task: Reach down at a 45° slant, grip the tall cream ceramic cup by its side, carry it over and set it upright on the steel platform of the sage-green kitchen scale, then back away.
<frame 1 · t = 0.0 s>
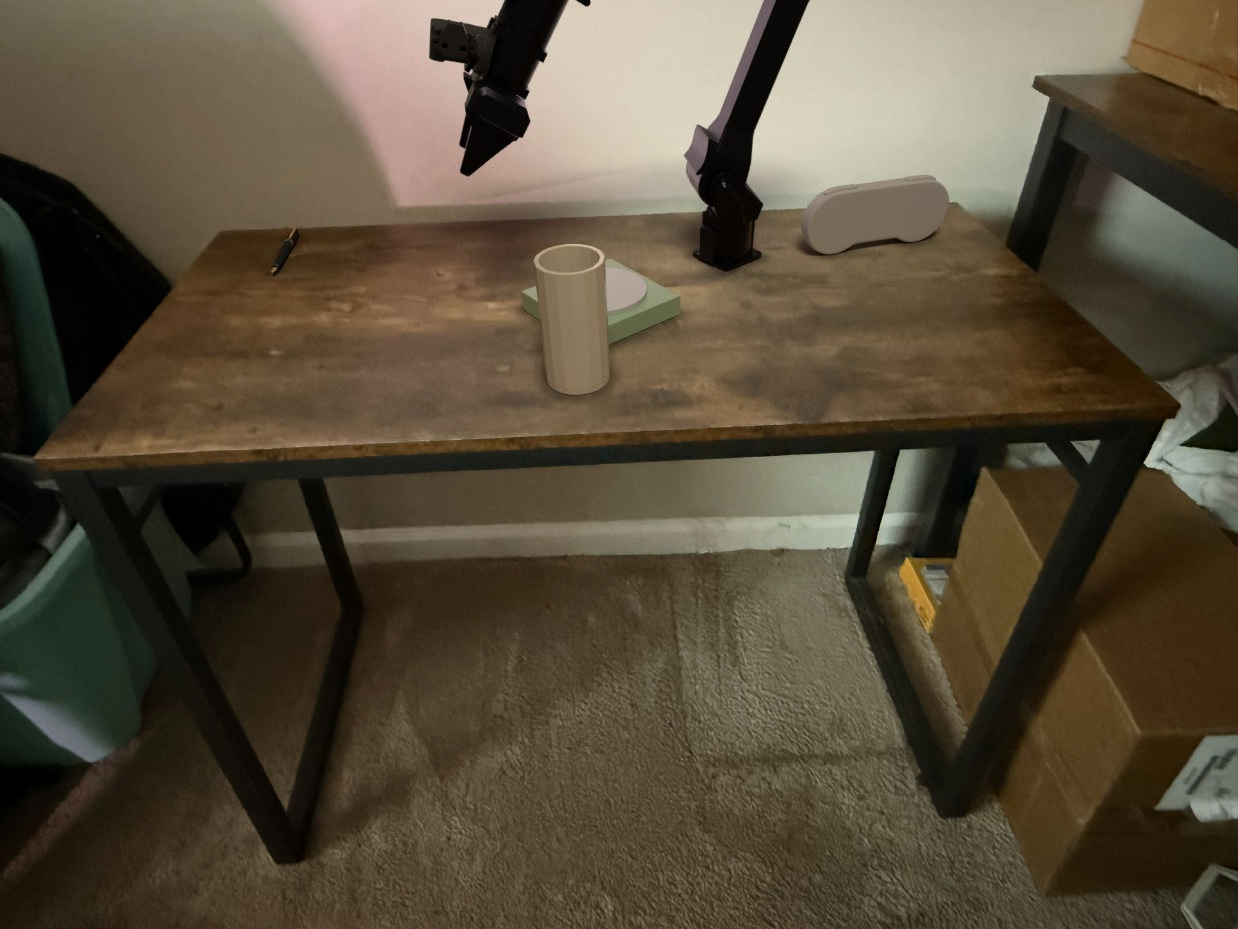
hand: (463, 160, 91), 15 cm above the table, tool tilted 35°, fingers open, 9 cm apart
fountain pen: (286, 256, 109), on the table
game controller: (870, 246, 105), on the table
scale: (600, 312, 93), on the table
cup: (578, 377, 83), on the table
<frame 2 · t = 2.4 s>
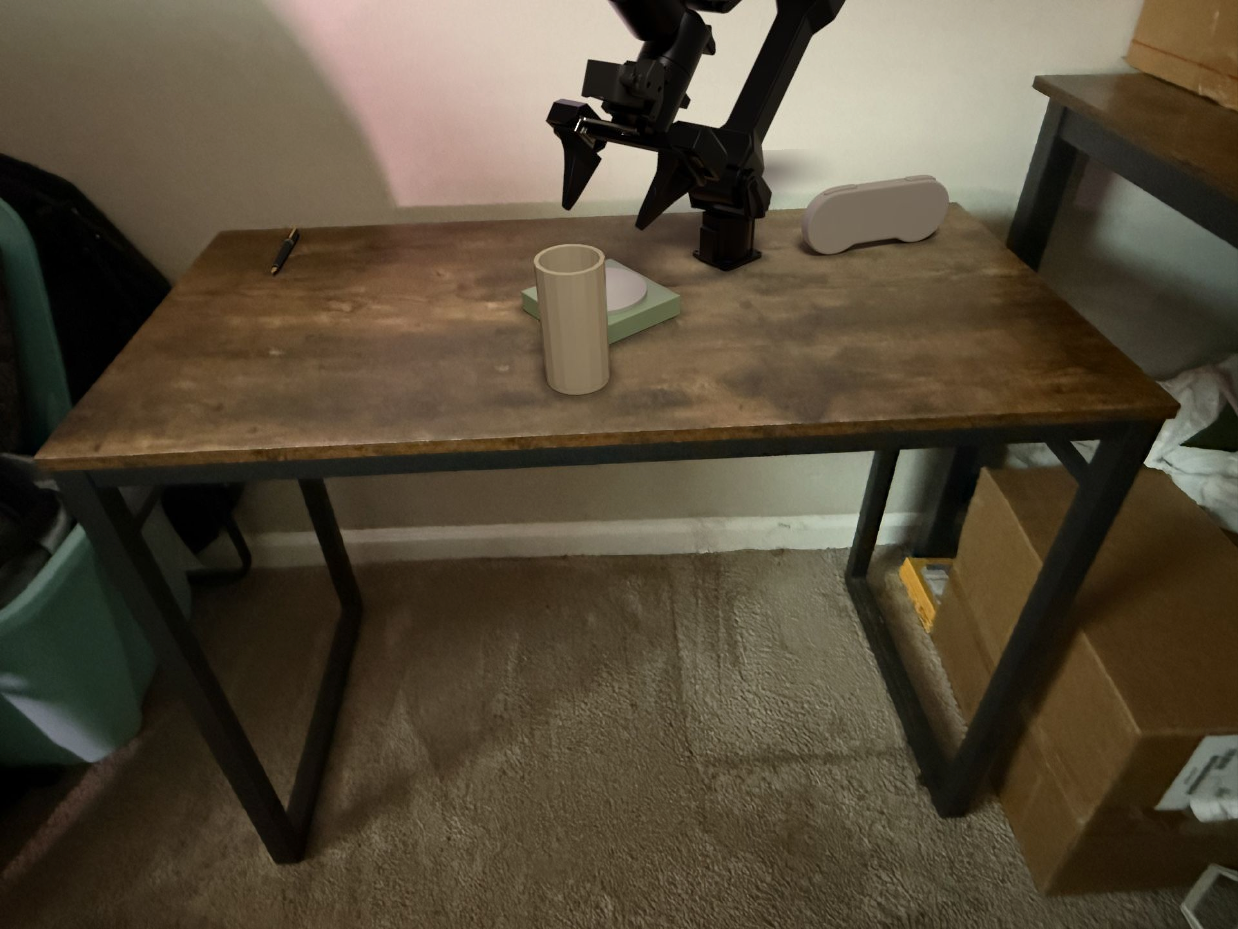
hand: (600, 218, 80), 14 cm above the table, tool tilted 45°, fingers open, 9 cm apart
nothing on the table moved.
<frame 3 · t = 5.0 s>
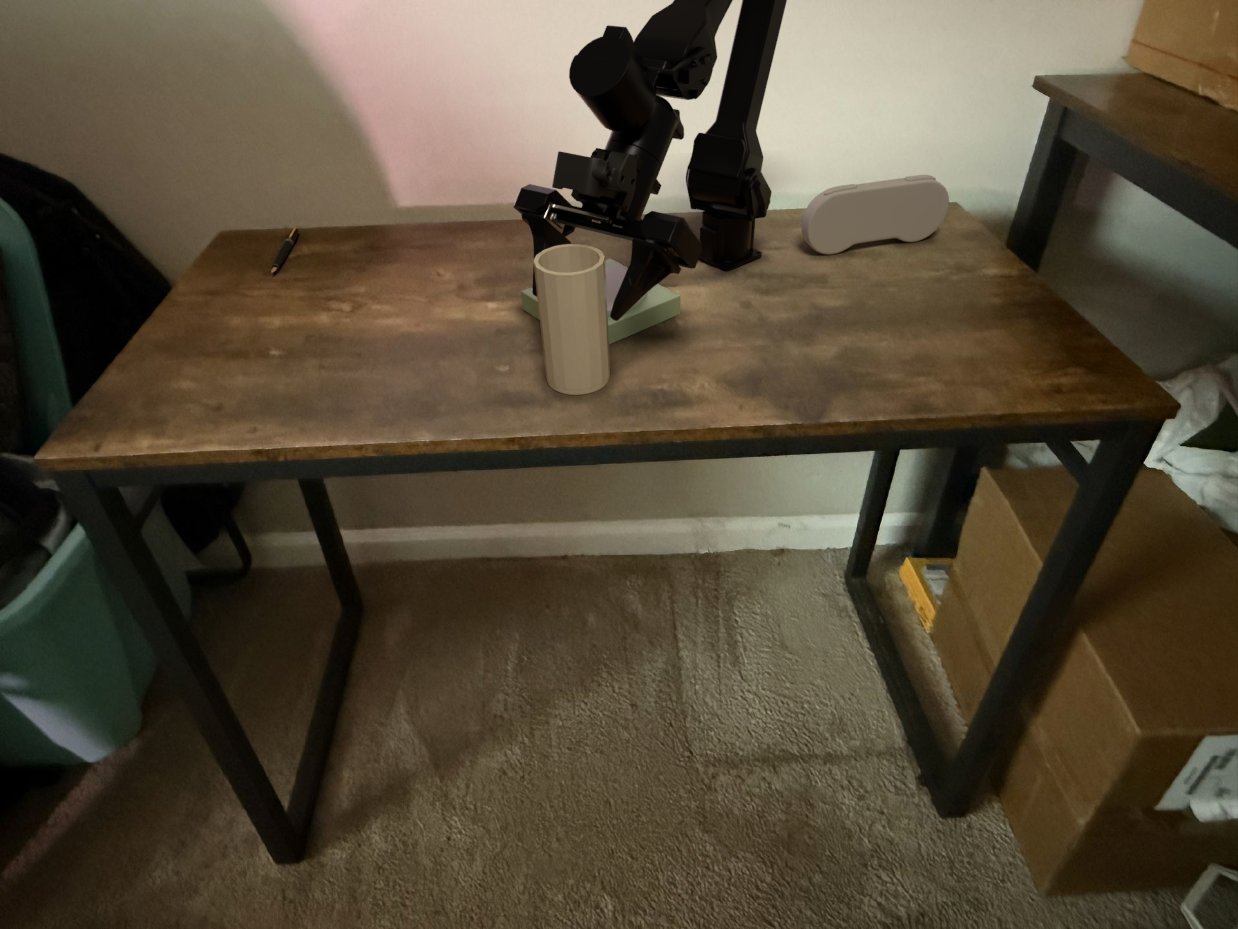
hand: (573, 307, 78), 8 cm above the table, tool tilted 45°, fingers open, 9 cm apart
nothing on the table moved.
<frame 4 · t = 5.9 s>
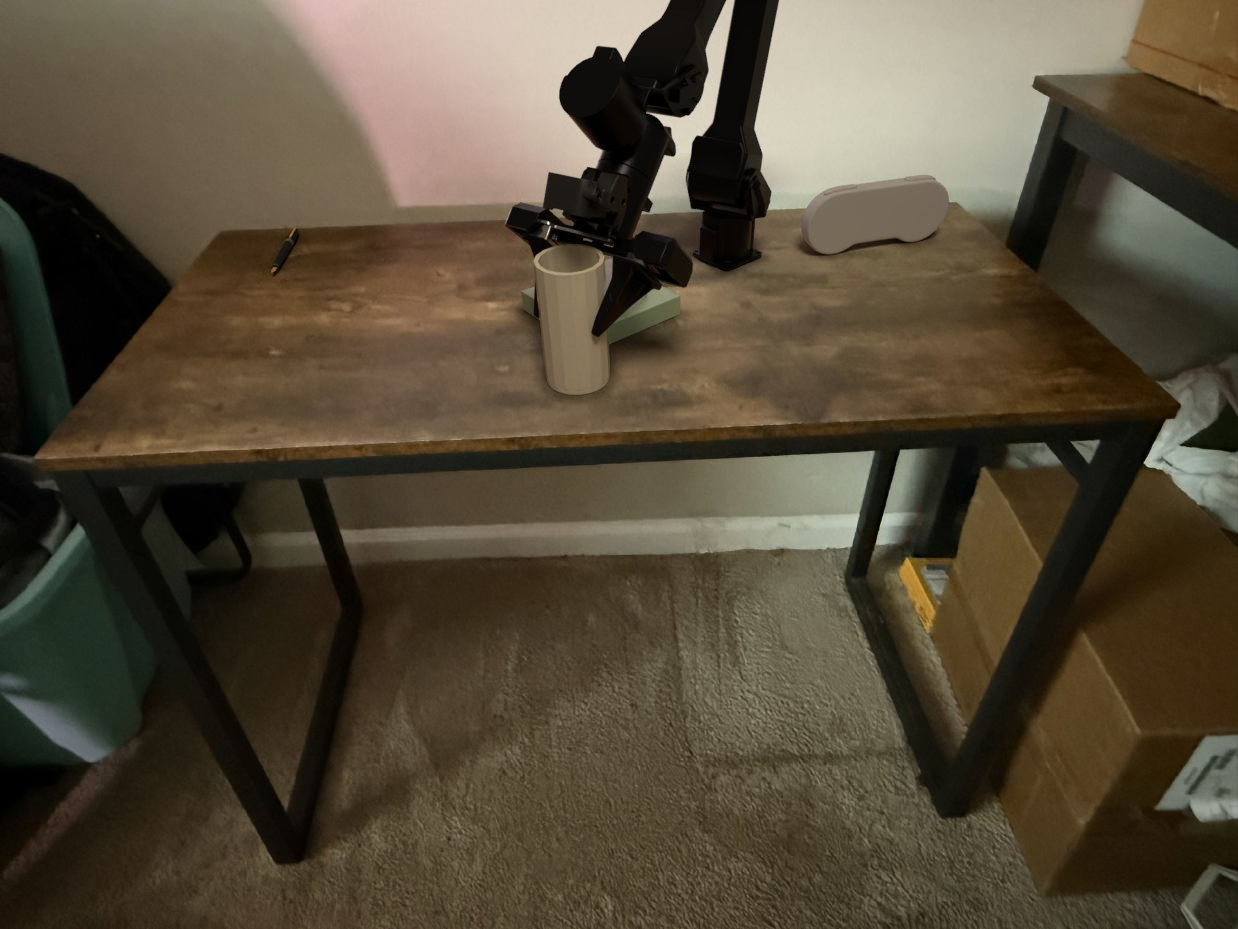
hand: (565, 326, 78), 7 cm above the table, tool tilted 45°, fingers closed on cup, 6 cm apart
cup: (578, 377, 83), on the table, touching gripper
everything else where it was.
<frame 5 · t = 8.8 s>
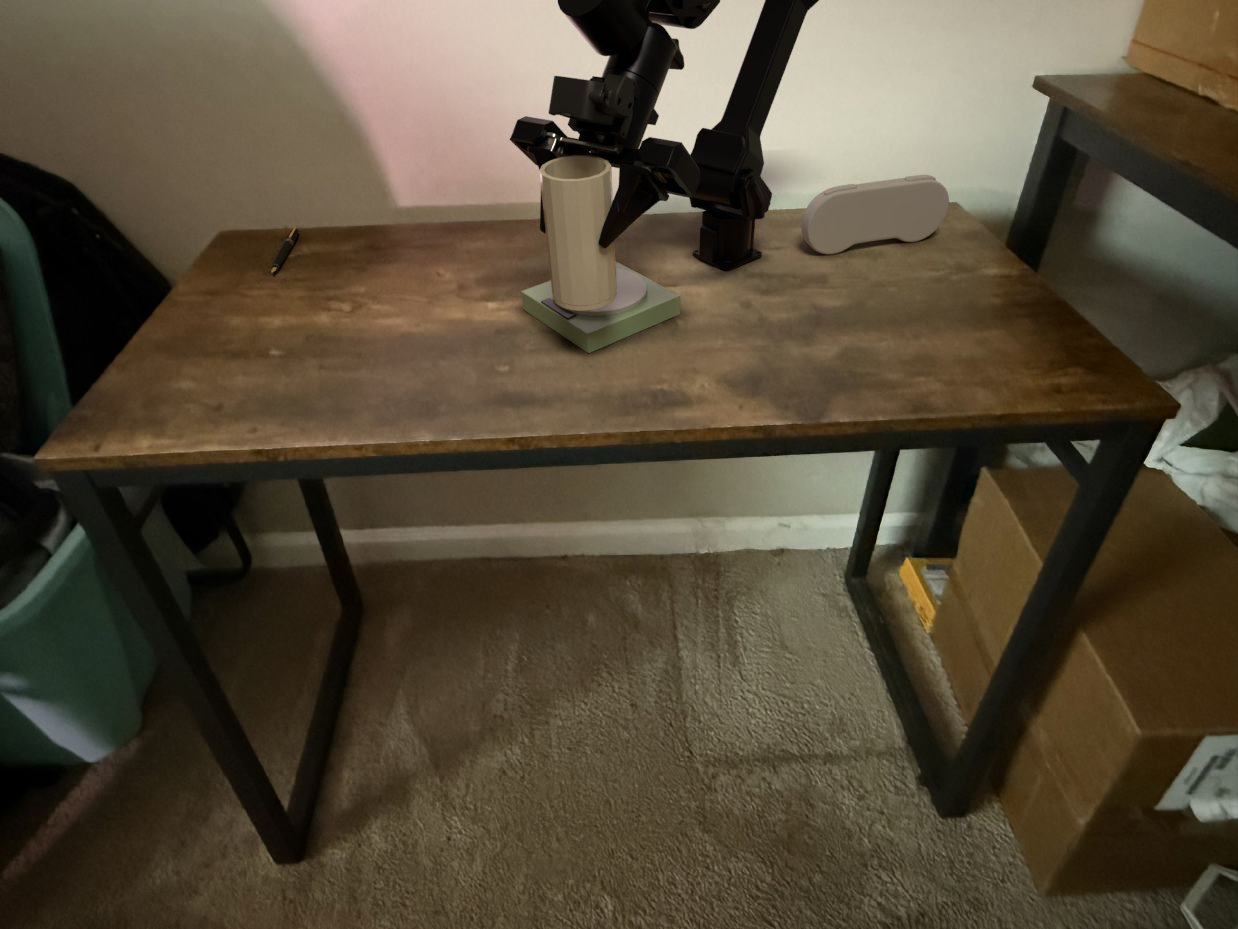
hand: (571, 239, 77), 13 cm above the table, tool tilted 45°, fingers closed on cup, 6 cm apart
cup: (585, 295, 82), point 7 cm above the table, touching gripper
everything else where it was.
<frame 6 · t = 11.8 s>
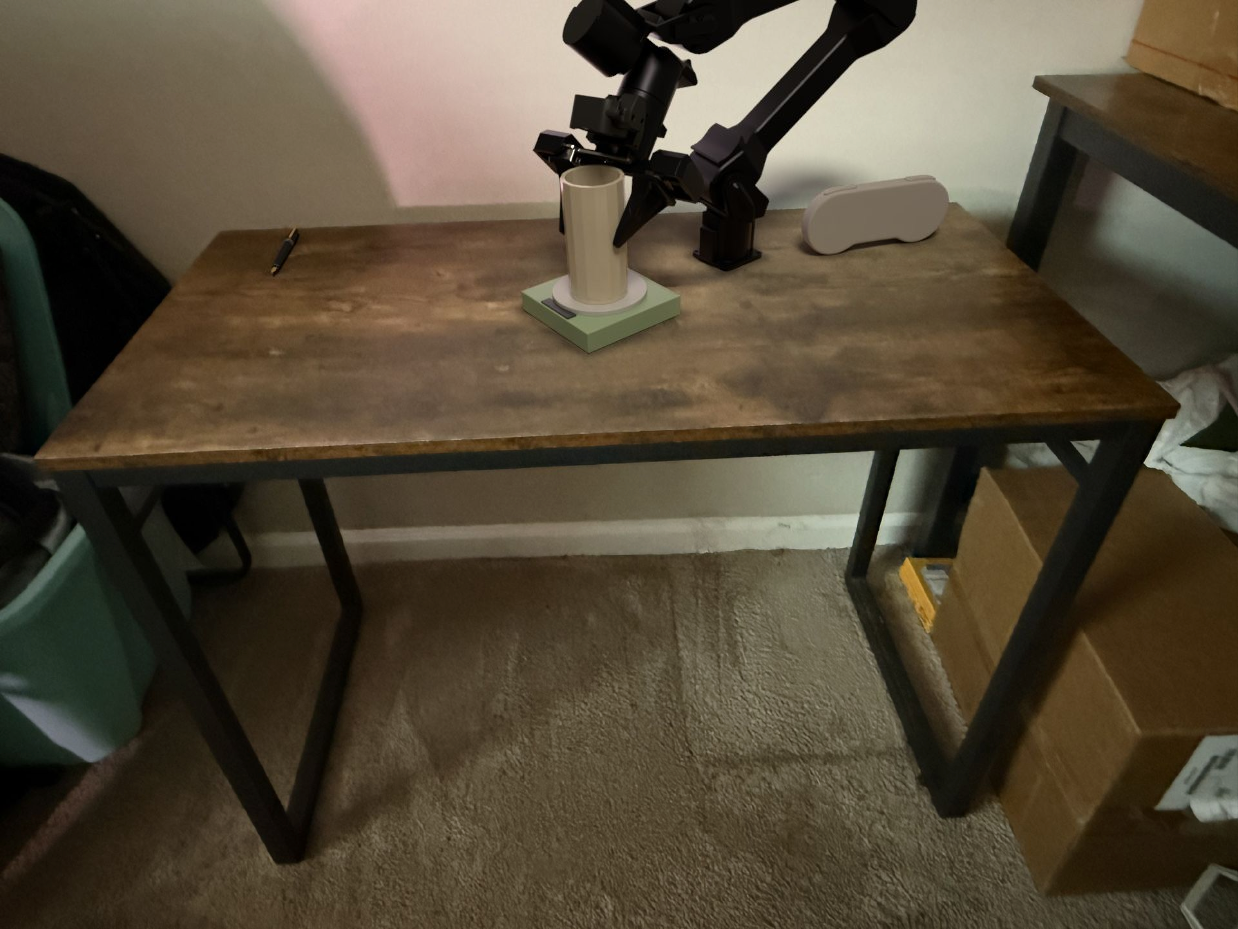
hand: (588, 240, 86), 10 cm above the table, tool tilted 45°, fingers closed on cup, 6 cm apart
cup: (599, 291, 91), point 3 cm above the table, touching gripper, scale
everything else where it was.
when the fingers open (10 cm above the table, at t = 11.8 s): cup stays where it is, resting on scale.
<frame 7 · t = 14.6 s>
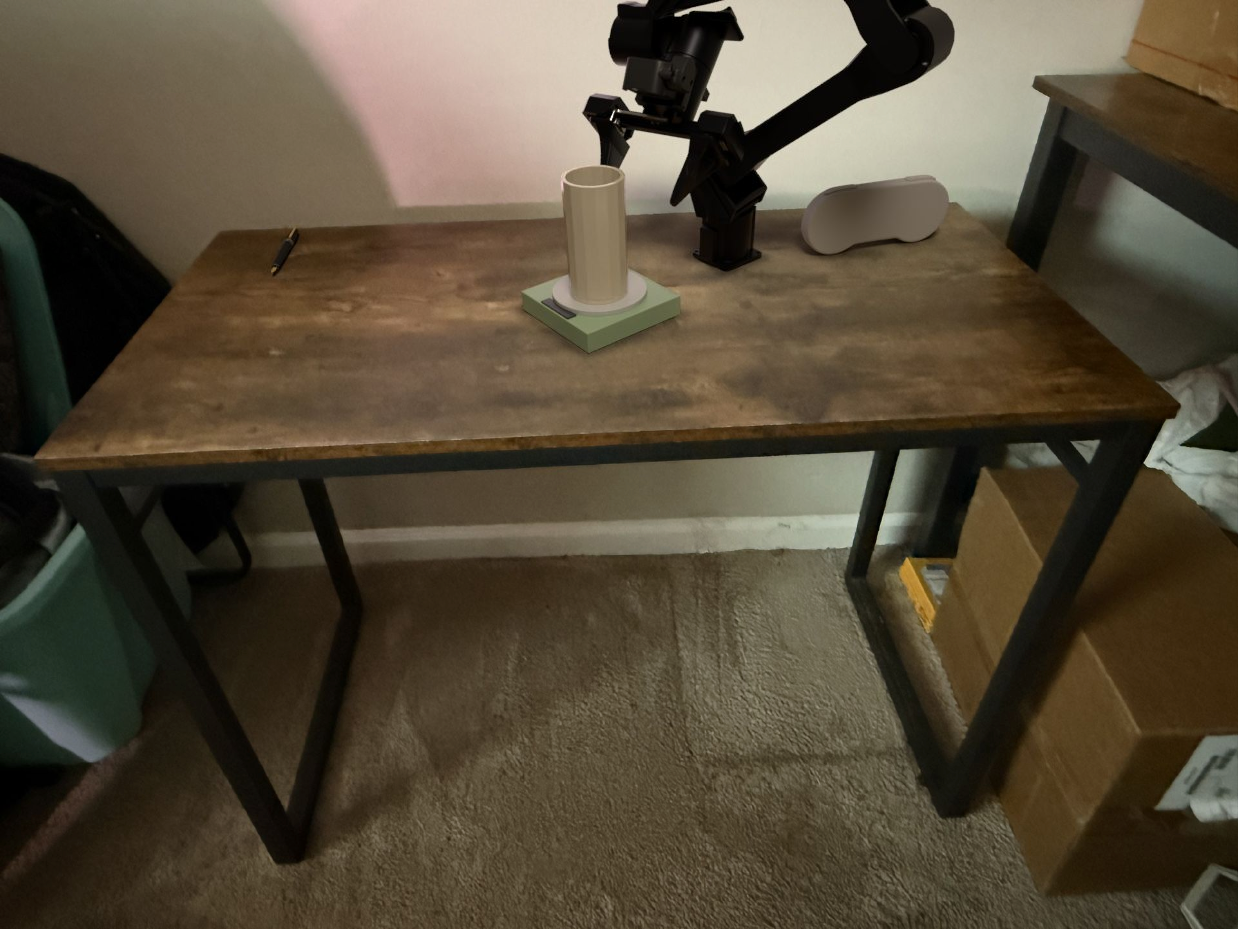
hand: (636, 197, 91), 11 cm above the table, tool tilted 45°, fingers open, 9 cm apart
cup: (599, 291, 91), point 3 cm above the table, touching scale
everything else where it was.
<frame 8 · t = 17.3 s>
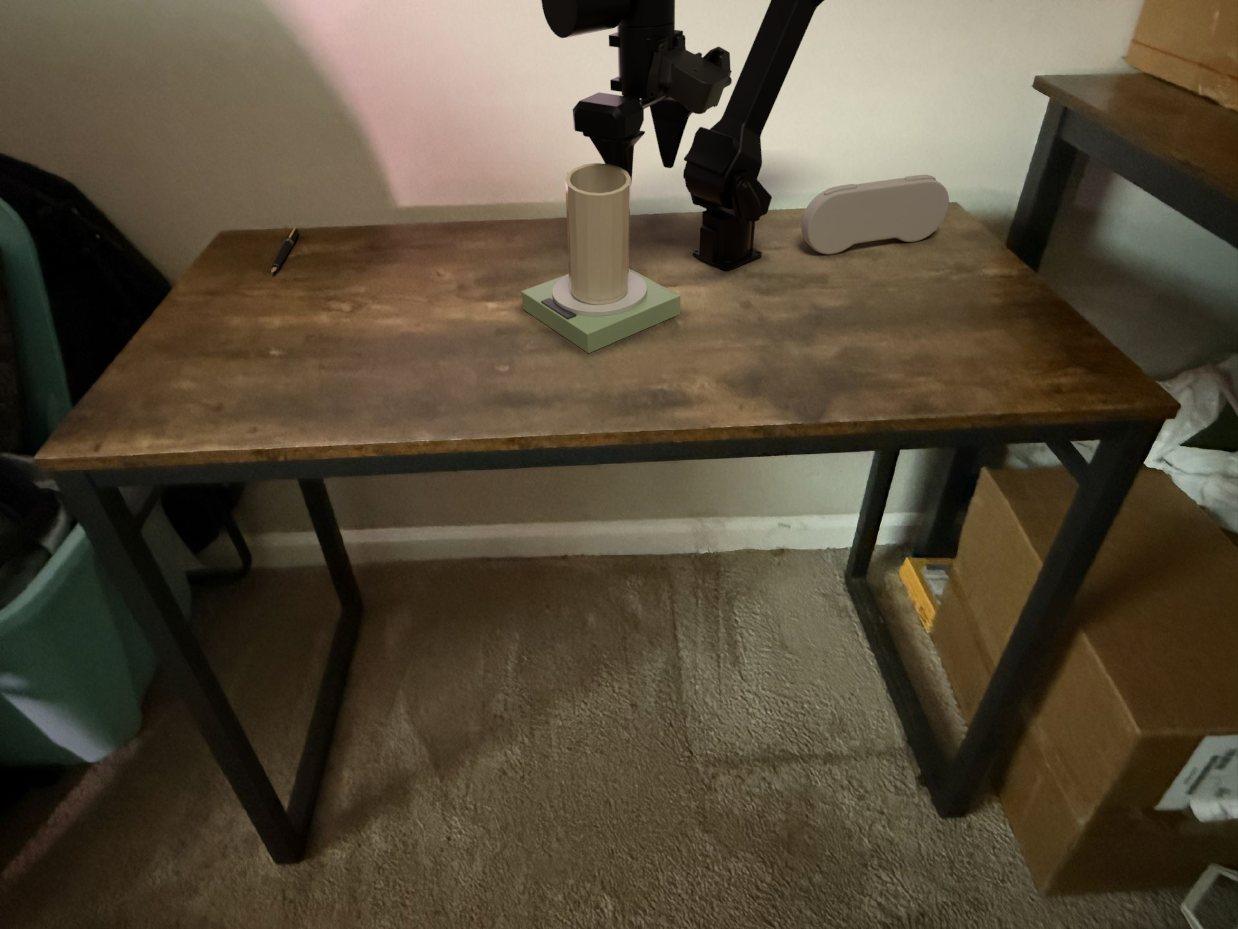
hand: (647, 179, 89), 13 cm above the table, tool pointing down, fingers open, 9 cm apart
cup: (599, 287, 90), point 3 cm above the table, tilted 8°, touching gripper, scale
everything else where it was.
at the end: cup inside the target area on the scale (0.8 cm from its centre), point 3.5 cm above the scale's base; cup tilted 8°; game controller moved 0.2 cm from its start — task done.
